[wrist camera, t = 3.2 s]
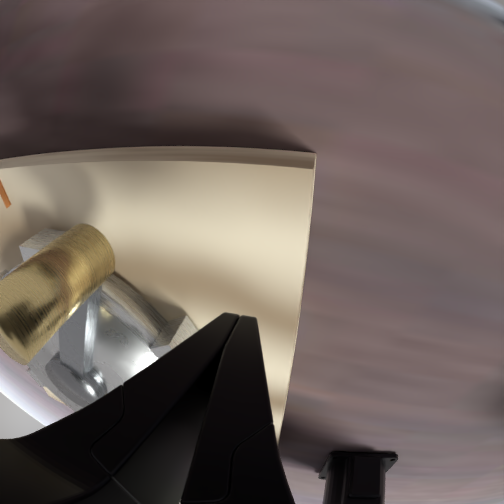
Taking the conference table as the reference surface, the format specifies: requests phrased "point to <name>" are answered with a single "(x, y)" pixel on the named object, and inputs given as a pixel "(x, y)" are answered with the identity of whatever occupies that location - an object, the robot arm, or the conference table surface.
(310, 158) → the base plate
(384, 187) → the conference table surface
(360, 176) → the conference table surface
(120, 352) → the silver lever dial
